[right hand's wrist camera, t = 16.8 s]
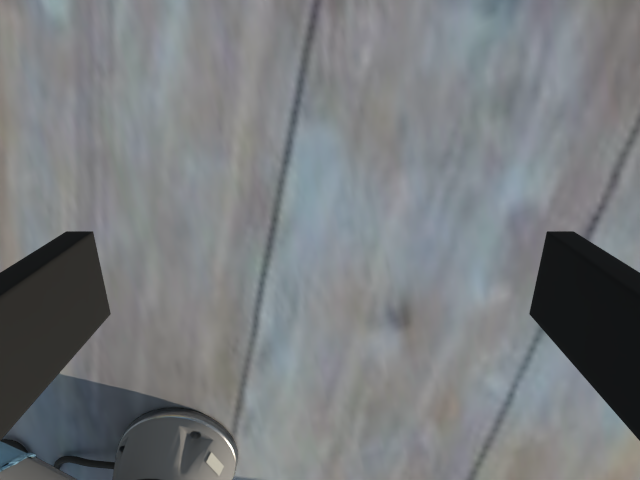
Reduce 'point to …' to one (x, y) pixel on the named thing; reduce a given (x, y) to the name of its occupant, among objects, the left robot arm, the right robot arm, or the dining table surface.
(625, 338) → the right robot arm
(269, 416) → the dining table surface
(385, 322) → the dining table surface
